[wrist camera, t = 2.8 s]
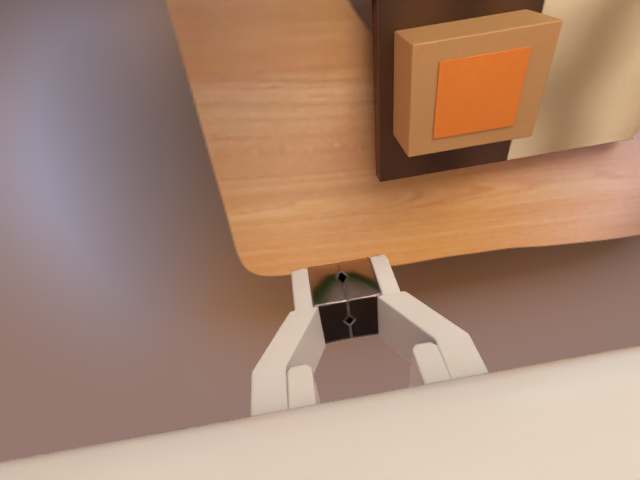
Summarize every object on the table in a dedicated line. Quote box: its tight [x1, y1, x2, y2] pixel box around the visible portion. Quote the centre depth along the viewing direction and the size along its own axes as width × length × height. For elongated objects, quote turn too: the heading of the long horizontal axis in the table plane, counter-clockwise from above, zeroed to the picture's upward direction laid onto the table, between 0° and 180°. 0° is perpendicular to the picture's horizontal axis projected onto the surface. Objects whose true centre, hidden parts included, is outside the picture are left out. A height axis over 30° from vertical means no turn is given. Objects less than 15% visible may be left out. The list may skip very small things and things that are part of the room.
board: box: [372, 0, 640, 182], centre depth 24 cm, size 20×14×1 cm
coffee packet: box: [393, 9, 563, 157], centre depth 22 cm, size 8×6×4 cm
